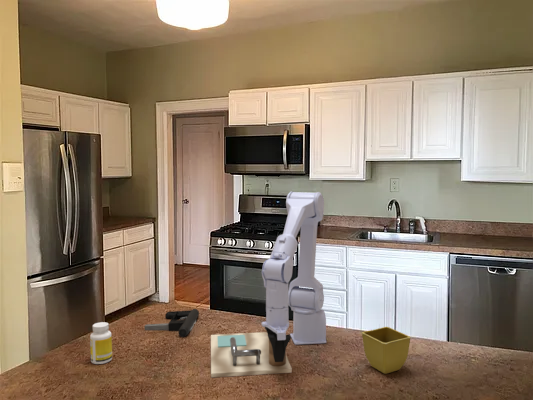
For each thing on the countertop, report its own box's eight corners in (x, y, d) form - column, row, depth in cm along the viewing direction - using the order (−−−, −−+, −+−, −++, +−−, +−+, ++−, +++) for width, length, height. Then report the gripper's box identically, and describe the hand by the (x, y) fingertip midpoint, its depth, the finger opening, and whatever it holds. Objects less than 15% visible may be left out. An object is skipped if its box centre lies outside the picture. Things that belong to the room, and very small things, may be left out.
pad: (244, 335, 136) (244, 334, 136) (246, 346, 128) (246, 344, 128) (217, 337, 135) (217, 336, 135) (218, 347, 127) (218, 346, 127)
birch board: (276, 334, 139) (276, 331, 139) (291, 372, 114) (291, 368, 113) (210, 338, 137) (210, 334, 137) (211, 377, 111) (211, 373, 111)
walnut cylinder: (284, 358, 119) (284, 336, 119) (287, 365, 115) (287, 342, 115) (267, 359, 119) (267, 337, 118) (270, 366, 115) (270, 343, 114)
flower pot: (383, 379, 110) (384, 343, 109) (360, 365, 117) (360, 331, 117) (410, 372, 114) (411, 336, 113) (386, 359, 121) (387, 326, 121)
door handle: (138, 330, 138) (190, 327, 137) (156, 309, 158) (202, 307, 157) (139, 341, 138) (191, 338, 137) (157, 319, 158) (203, 316, 157)
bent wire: (257, 348, 126) (257, 335, 126) (261, 364, 116) (261, 350, 115) (229, 350, 125) (229, 336, 125) (231, 366, 115) (231, 352, 114)
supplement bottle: (116, 358, 123) (115, 322, 122) (101, 366, 118) (100, 329, 117) (101, 354, 125) (100, 320, 124) (86, 362, 120) (85, 326, 119)
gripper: (258, 298, 123) (258, 347, 124) (265, 315, 108) (265, 370, 109) (284, 297, 124) (284, 345, 124) (294, 314, 109) (294, 368, 110)
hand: (277, 357), depth 117 cm, fingers closed on walnut cylinder, 4 cm apart
